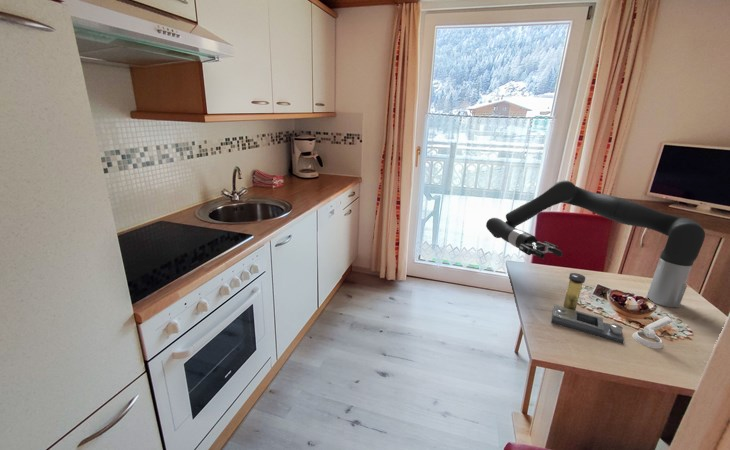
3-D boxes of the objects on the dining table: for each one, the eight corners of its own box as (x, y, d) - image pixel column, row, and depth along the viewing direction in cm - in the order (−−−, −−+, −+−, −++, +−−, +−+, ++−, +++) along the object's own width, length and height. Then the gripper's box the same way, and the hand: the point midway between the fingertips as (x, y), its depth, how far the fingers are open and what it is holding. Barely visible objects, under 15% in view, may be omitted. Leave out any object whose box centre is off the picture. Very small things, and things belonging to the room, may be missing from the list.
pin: (576, 309, 122) (585, 275, 118) (576, 315, 118) (585, 280, 114) (561, 305, 125) (569, 271, 120) (561, 311, 121) (569, 276, 116)
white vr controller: (693, 341, 98) (676, 328, 97) (652, 358, 104) (636, 346, 103) (679, 322, 104) (663, 310, 103) (642, 340, 110) (626, 328, 110)
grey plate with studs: (620, 331, 110) (622, 322, 109) (622, 344, 103) (625, 335, 102) (552, 312, 120) (554, 303, 119) (551, 322, 113) (553, 314, 112)
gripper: (510, 233, 137) (540, 247, 123) (537, 230, 142) (569, 244, 127) (506, 249, 140) (536, 266, 125) (533, 247, 144) (565, 262, 130)
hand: (553, 255), depth 126 cm, fingers open, 8 cm apart
